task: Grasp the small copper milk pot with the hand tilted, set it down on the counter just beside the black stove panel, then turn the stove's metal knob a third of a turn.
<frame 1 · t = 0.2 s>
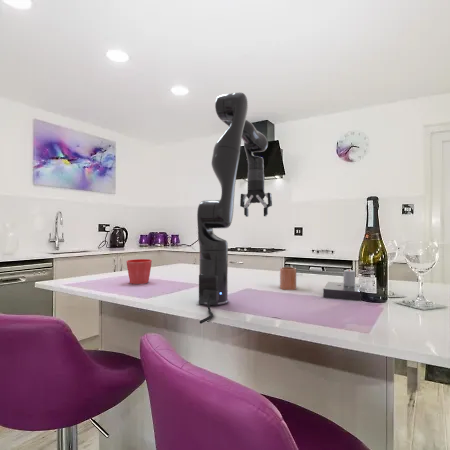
hand: (255, 216, 149), 29 cm above the countertop, tool pointing down, fingers open, 8 cm apart
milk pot: (288, 288, 132), on the countertop
stove: (343, 294, 120), on the countertop
stove knob: (349, 277, 121), point 6 cm above the countertop, hinge at 0.0°
flower pot: (139, 283, 144), on the countertop
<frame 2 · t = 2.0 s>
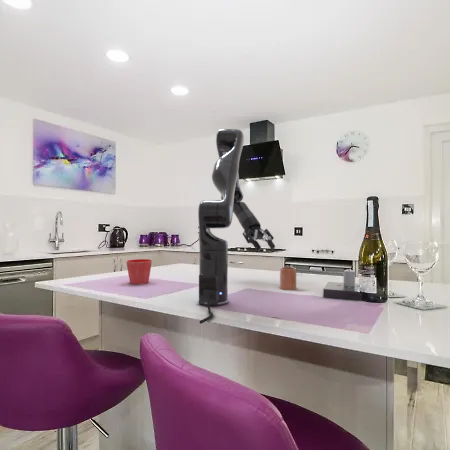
hand: (266, 248, 141), 15 cm above the countertop, tool tilted 45°, fingers open, 8 cm apart
nothing on the countertop moved.
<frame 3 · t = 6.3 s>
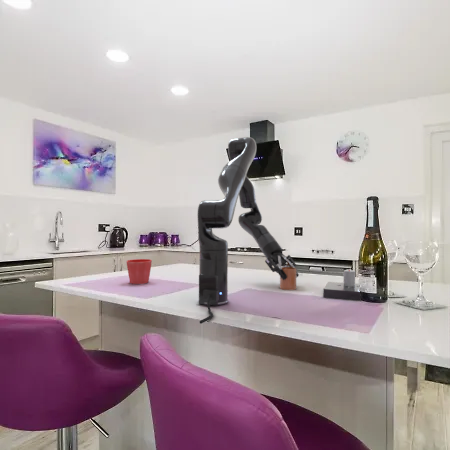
hand: (291, 277, 131), 4 cm above the countertop, tool tilted 45°, fingers closed on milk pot, 6 cm apart
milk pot: (288, 288, 132), on the countertop, touching gripper
everything else where it was.
when the fingers open (4 cm above the countertop, at t = 14.7 s): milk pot stays where it is, on the countertop.
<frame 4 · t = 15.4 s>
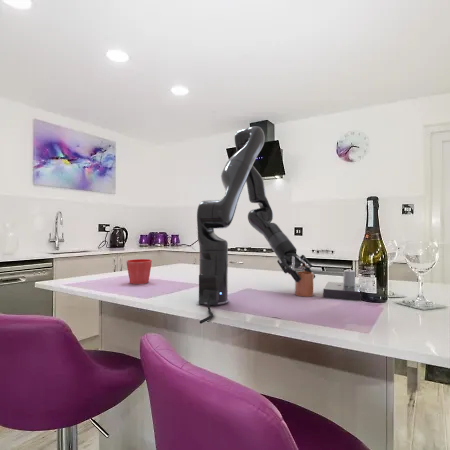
hand: (306, 279, 119), 6 cm above the countertop, tool tilted 45°, fingers open, 8 cm apart
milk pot: (304, 294, 120), on the countertop
everything else where it was.
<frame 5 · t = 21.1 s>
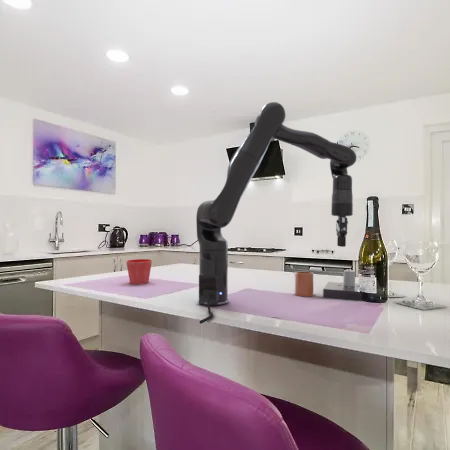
hand: (341, 246, 123), 17 cm above the countertop, tool pointing down, fingers open, 8 cm apart
nothing on the countertop moved.
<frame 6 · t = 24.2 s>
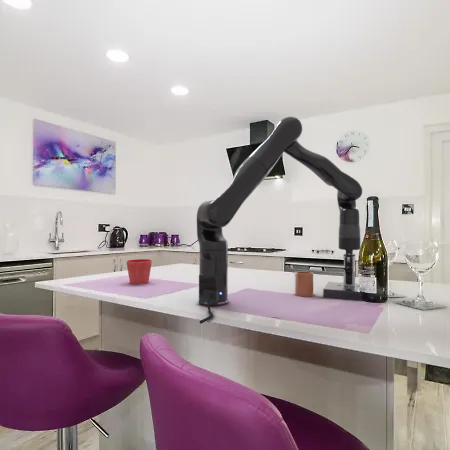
hand: (349, 282, 121), 4 cm above the countertop, tool pointing down, fingers closed on stove knob, 4 cm apart
stove knob: (349, 277, 121), point 6 cm above the countertop, hinge at 0.1°, touching gripper
everything else where it was.
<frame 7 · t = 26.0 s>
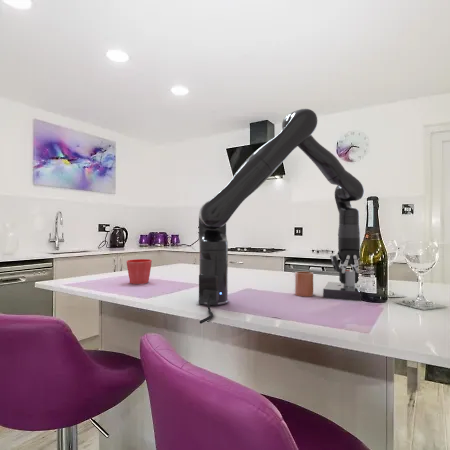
hand: (349, 282, 122), 4 cm above the countertop, tool pointing down, fingers closed on stove knob, 4 cm apart
stove knob: (349, 277, 121), point 6 cm above the countertop, hinge at 124.6°, touching gripper
everything else where it was.
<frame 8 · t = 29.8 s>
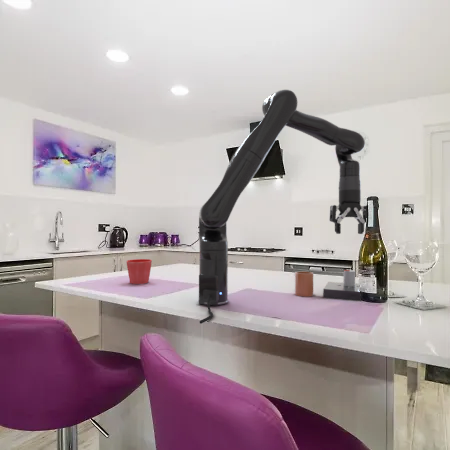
hand: (349, 233, 121), 22 cm above the countertop, tool pointing down, fingers open, 8 cm apart
stove knob: (349, 277, 121), point 6 cm above the countertop, hinge at 124.8°
everything else where it was.
at the end: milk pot inside the target area (0.4 cm from its centre), on the countertop; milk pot tilted 0°; stove knob at +125° (first picture: +0°) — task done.
